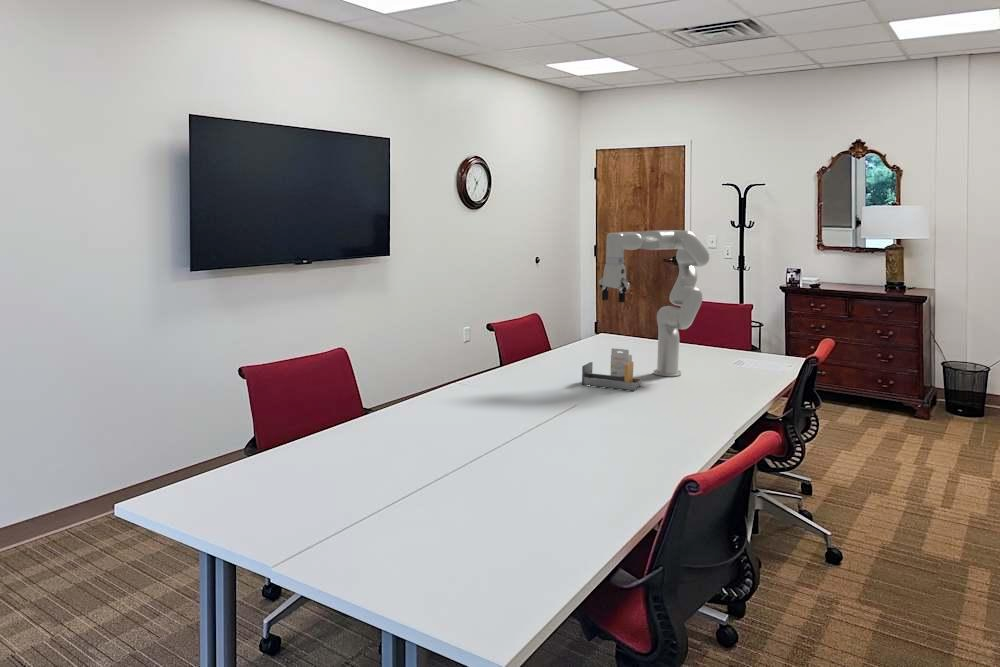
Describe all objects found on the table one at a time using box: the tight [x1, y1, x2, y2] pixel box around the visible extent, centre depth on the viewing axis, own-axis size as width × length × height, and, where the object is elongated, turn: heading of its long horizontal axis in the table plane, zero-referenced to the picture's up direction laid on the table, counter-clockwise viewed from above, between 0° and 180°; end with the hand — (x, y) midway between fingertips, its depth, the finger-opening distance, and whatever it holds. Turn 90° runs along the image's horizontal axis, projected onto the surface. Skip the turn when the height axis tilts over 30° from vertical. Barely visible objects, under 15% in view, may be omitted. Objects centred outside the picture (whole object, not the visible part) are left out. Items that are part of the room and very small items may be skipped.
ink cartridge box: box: [609, 347, 633, 377], centre depth 331 cm, size 9×5×15 cm, turn 62°
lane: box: [581, 361, 641, 392], centre depth 321 cm, size 10×23×8 cm, turn 63°
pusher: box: [624, 361, 634, 383], centre depth 318 cm, size 7×2×10 cm, turn 153°
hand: (613, 301), depth 324 cm, fingers open, 9 cm apart
